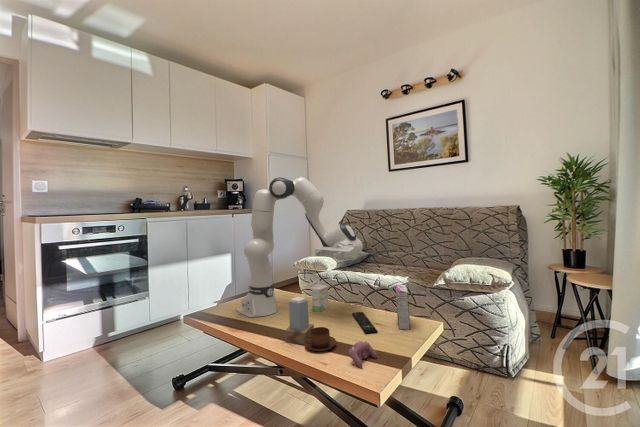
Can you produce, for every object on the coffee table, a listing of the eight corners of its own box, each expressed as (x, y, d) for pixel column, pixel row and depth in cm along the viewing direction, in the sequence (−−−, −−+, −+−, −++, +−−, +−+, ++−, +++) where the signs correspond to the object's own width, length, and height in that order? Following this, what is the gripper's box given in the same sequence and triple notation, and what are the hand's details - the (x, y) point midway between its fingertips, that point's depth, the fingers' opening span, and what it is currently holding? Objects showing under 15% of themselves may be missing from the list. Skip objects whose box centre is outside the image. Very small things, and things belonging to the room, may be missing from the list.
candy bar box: (396, 319, 141) (395, 284, 140) (408, 320, 140) (406, 284, 139) (398, 329, 130) (396, 291, 129) (410, 330, 129) (408, 291, 128)
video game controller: (369, 358, 110) (362, 339, 112) (379, 356, 107) (371, 336, 109) (352, 370, 103) (344, 349, 105) (361, 368, 100) (353, 346, 102)
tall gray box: (290, 328, 125) (288, 299, 125) (299, 323, 130) (297, 296, 129) (300, 331, 122) (298, 301, 121) (309, 326, 126) (307, 298, 126)
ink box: (320, 312, 155) (319, 283, 155) (312, 311, 158) (310, 282, 157) (329, 307, 163) (327, 279, 162) (320, 306, 165) (319, 278, 165)
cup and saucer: (323, 357, 110) (322, 340, 110) (298, 348, 117) (297, 332, 117) (342, 344, 119) (341, 328, 119) (318, 337, 127) (317, 322, 126)
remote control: (365, 335, 127) (365, 332, 127) (352, 315, 151) (352, 312, 151) (377, 334, 127) (377, 331, 127) (362, 314, 151) (362, 311, 151)
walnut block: (285, 342, 123) (284, 330, 123) (294, 333, 132) (294, 322, 131) (305, 345, 120) (305, 333, 120) (314, 336, 128) (313, 324, 128)
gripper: (324, 243, 157) (307, 246, 146) (359, 245, 145) (343, 249, 134) (324, 255, 158) (307, 260, 147) (359, 258, 145) (343, 263, 134)
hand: (324, 254), depth 140 cm, fingers open, 8 cm apart
